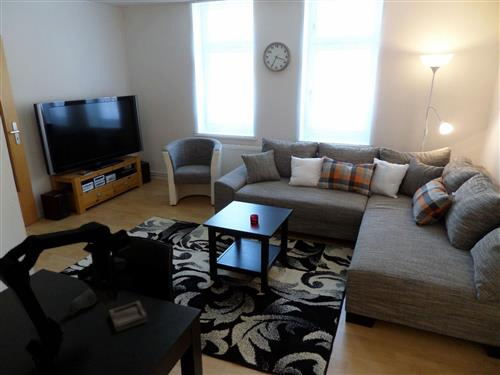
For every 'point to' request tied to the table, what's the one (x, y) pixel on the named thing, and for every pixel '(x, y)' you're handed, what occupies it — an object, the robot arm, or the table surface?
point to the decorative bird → (83, 301)
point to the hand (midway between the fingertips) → (107, 299)
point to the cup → (102, 292)
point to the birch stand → (128, 316)
